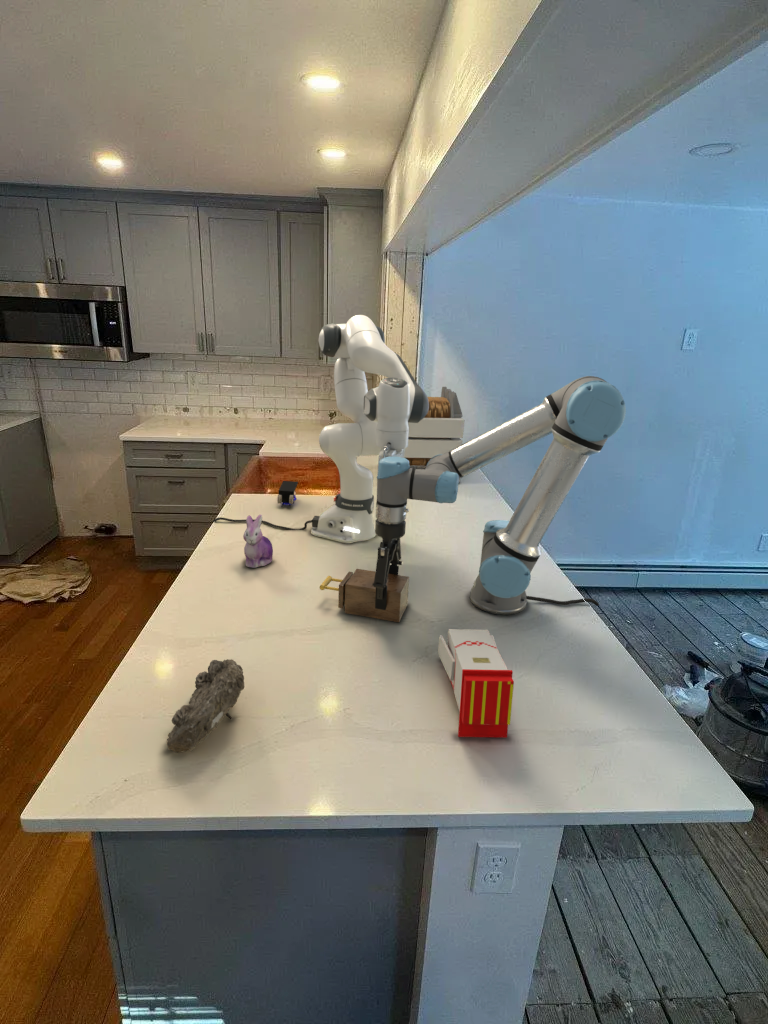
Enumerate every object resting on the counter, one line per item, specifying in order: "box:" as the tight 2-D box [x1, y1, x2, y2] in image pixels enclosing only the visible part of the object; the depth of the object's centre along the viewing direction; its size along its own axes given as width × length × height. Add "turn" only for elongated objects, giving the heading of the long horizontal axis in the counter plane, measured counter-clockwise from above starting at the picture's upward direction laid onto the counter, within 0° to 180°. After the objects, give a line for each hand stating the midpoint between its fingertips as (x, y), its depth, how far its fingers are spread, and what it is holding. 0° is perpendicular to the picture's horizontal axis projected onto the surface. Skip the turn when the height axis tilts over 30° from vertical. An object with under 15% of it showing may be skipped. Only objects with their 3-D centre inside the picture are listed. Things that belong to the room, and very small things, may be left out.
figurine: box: [242, 514, 274, 569], centre depth 170 cm, size 9×10×15 cm
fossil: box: [166, 658, 245, 754], centre depth 106 cm, size 22×10×15 cm
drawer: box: [319, 571, 354, 609], centre depth 149 cm, size 19×8×7 cm, turn 75°
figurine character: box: [276, 480, 299, 509], centre depth 224 cm, size 7×8×15 cm
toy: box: [437, 628, 515, 738], centre depth 117 cm, size 12×13×30 cm
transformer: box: [404, 386, 465, 483], centre depth 268 cm, size 34×33×41 cm
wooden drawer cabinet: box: [344, 568, 410, 623], centre depth 148 cm, size 14×10×8 cm, turn 75°
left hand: (390, 488), depth 159 cm, fingers open, 8 cm apart
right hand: (386, 597), depth 148 cm, fingers open, 11 cm apart
